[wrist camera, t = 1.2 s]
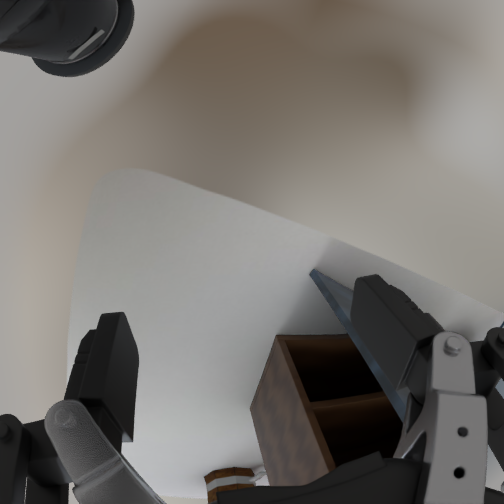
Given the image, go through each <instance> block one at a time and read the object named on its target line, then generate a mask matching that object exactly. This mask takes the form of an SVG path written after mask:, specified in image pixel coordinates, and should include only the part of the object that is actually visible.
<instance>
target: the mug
mask: <svg viewBox="0 0 504 504" xmlns="http://www.w3.org/2000/svg"><path fill="white" fill-rule="evenodd" d="M264 475H267V473H266V472H260V473H259V474H257V475H255V476H254V473H253V471H252V470H251V469H250V468H237V467H232V468H227V469H221V470H215V471H212V472H211V473H209V474H208V475H206V476H205V477H204V478H205V482H206V486H207V493H208V503H211V502H213V501H216V500H217V497H216V492H220V491H228V490H235V489H242V488H248V487H254V486H256V484H255V481H257V480H258V479H260V478H262V477H263V476H264Z"/></svg>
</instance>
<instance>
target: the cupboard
mask: <svg viewBox="0 0 504 504" xmlns="http://www.w3.org/2000/svg"><path fill="white" fill-rule="evenodd" d="M250 411H251V415H252V419H253V423H254V427H255V431H256V435H257V439H258V443H259V447H260V451H261V454H262V458H263V462H264V466H265V470H266V473H267V477H268V481H269V484H270V486H301V485H306V484H309V483H311V482H313V481H315V480H316V479H318V478H320V477H322V476H324V475H325V474H327V473H329V472H330V471H332V470H334V469H336V468H337V467H339V466H340V465H342V464H344V463H347V462H350V461H353V460H356V459H359V458H361V457H364V456H367V455H369V454H372V453H374V452H377V451H379V452H380V454H381V456H382V458H383V459H384V458H393V456H394V453H395V451H396V449H397V447H398V444H399V442H400V438H401V433H402V428H403V422H402V421H401V419H400V417H399V416H398V414H397V412H396V411H395V409H394V407H393V406H392V404H391V402H390V401H389V399H388V397H387V396H386V394H385V392H384V391H383V389H382V387H381V386H380V384H379V382H378V381H377V379H376V378H375V376H374V374H373V373H372V371H371V369H370V368H369V366H368V365H367V363H366V361H365V360H364V358H363V357H362V355H361V353H360V352H359V350H358V349H357V347H356V345H355V344H354V342H353V341H352V339H351V337H350V336H349V334H341V335H276V337H275V340H274V343H273V346H272V349H271V352H270V354H269V357H268V360H267V363H266V366H265V369H264V371H263V374H262V377H261V380H260V382H259V385H258V388H257V391H256V393H255V396H254V399H253V401H252V404H251V407H250Z"/></svg>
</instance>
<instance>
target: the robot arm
mask: <svg viewBox="0 0 504 504" xmlns="http://www.w3.org/2000/svg"><path fill="white" fill-rule="evenodd" d="M118 19H119V4H118V1H117V0H0V51H3V52H9V53H15V54H20V55H25V56H30V57H34V58H39V59H43V60H46V61H49V62H52V63H56V64H65V65H66V64H73V63H77V62H80V61H83V60H85V59H87V58H89V57H90V56H92V55H93V54H95V53H96V52H97V51H99V50H100V49H101V48H102V47H103V46H104V45H105V44H106V42H107V41H108V40H109V39H110V37H111V36H112V34H113V32H114V30H115V28H116V26H117V23H118ZM350 318H351V323H352V326H353V328H354V330H355V331H356V333H357V334H358V335H359V337H360V338H361V340H362V341H363V343H364V344H365V346H366V347H367V349H368V350H369V352H370V353H371V355H372V356H373V358H374V359H375V361H376V362H377V364H378V365H379V367H380V368H381V370H382V371H383V373H384V374H385V376H386V377H387V379H388V380H389V382H390V383H391V385H392V386H393V388H394V390H395V391H398V390H401V389H403V388H406V387H408V388H409V390H410V392H409V394H408V398H407V404H406V411H405V417H404V422H403V428H402V433H401V438H400V442H399V444H398V447H397V449H396V451H395V453H394V456H393V458H384V459H383V458H382V456H381V454H380V452H379V451H377V452H374V453H372V454H369V455H367V456H364V457H361V458H359V459H356V460H353V461H350V462H347V463H344V464H342V465H340V466H339V467H337V468H336V469H334V470H332V471H330V472H329V473H327V474H325V475H324V476H322V477H320V478H318V479H316V480H315V481H313V482H311V483H309V484H306V485H301V486H254V487H248V488H242V489H235V490H228V491H220V492H216V497H217V500H216V501H213V502H211V503H208V504H504V482H503V483H502V485H501V491H502V492H501V491H497V490H494V489H490V488H488V487H485V482H486V470H487V445H489V446H490V448H491V450H492V452H493V453H494V455H495V457H496V459H497V460H498V462H499V464H500V466H501V467H502V469H503V471H504V399H503V398H502V396H501V395H500V394H499V392H498V391H497V389H496V388H495V386H496V385H497V383H498V382H499V380H500V379H501V378H502V379H503V381H504V328H500V327H495V328H492V329H490V330H489V331H488V333H487V335H486V337H485V339H484V341H476V342H468V341H467V339H466V338H464V337H463V336H462V335H460V334H458V333H455V332H450V331H445V332H441V331H440V330H439V328H438V327H437V326H436V325H435V324H434V323H433V322H432V321H431V320H430V319H429V318H428V317H427V316H426V315H425V314H424V313H423V312H422V311H421V309H420V308H419V309H418V306H417V305H416V304H415V303H414V302H411V299H410V298H409V297H408V296H407V295H406V294H405V293H404V292H403V291H401V290H399V289H397V288H396V287H394V286H392V285H388V284H387V283H386V282H385V281H384V280H383V279H382V278H381V277H380V276H379V275H377V274H375V275H369V276H364V277H359V278H357V279H356V281H355V286H354V292H353V299H352V305H351V311H350ZM77 353H78V354H77V355H76V358H75V361H74V362H75V364H74V365H73V368H72V371H71V375H70V378H69V382H68V385H67V389H66V393H65V396H64V400H62V401H60V402H58V403H56V404H54V405H53V406H52V407H51V408H50V409H49V410H48V412H47V414H46V416H45V419H43V420H39V421H35V422H31V423H26V424H22V423H21V422H20V421H19V420H18V419H17V418H16V417H15V416H14V415H11V414H4V415H1V416H0V504H68V495H69V483H71V482H74V485H75V487H73V489H72V490H73V493H74V495H75V497H76V499H77V501H78V502H79V504H166V503H165V502H164V501H163V500H162V499H161V498H160V497H159V496H158V495H157V494H156V493H155V492H154V491H153V490H152V488H151V487H150V486H149V485H148V484H147V483H146V482H145V481H144V480H143V478H142V477H141V476H140V475H139V474H138V473H137V471H136V470H135V469H134V468H133V467H132V466H131V464H130V463H129V462H128V461H127V459H126V458H125V457H124V456H123V454H122V453H121V447H122V442H133V433H134V415H135V401H136V389H137V378H138V368H139V354H138V349H137V345H136V342H135V340H134V337H133V334H132V332H131V329H130V326H129V323H128V321H127V318H126V315H125V313H124V312H115V313H105V314H101V316H100V319H99V322H98V326H97V329H94V330H89V332H88V333H87V334H86V335H85V336H84V338H83V339H82V340H81V343H80V346H79V349H78V352H77ZM26 478H27V486H26ZM25 487H26V499H25ZM24 500H25V503H24Z"/></svg>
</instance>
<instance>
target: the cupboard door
mask: <svg viewBox="0 0 504 504" xmlns="http://www.w3.org/2000/svg"><path fill="white" fill-rule="evenodd" d="M310 276H311V277H312V279H313V280H314V282H315V283H316V285H317V286H318V288H319V289H320V291H321V293H322V294H323V296H324V297H325V299H326V300H327V302H328V303H329V305H330V306H331V308H332V309H333V311H334V312H335V314H336V316H337V317H338V319H339V320H340V322H341V323H342V325H343V326H344V328H345V330H346V331H347V333H348V334H349V336H350V337H351V339H352V341H353V342H354V344H355V345H356V347H357V349H358V350H359V352H360V353H361V355H362V357H363V358H364V360H365V361H366V363H367V365H368V366H369V368H370V369H371V371H372V373H373V374H374V376H375V378H376V379H377V381H378V382H379V384H380V386H381V387H382V389H383V391H384V392H385V394H386V396H387V397H388V399H389V401H390V402H391V404H392V406H393V407H394V409H395V411H396V412H397V414H398V416H399V417H400V419H401V421H402V422H404V417H405V411H406V404H407V398H408V394H409V392H410V390H409V388H408V387H406V388H403V389H401V390H398V391H395V390H394V388H393V386H392V385H391V383H390V382H389V380H388V379H387V377H386V376H385V374H384V373H383V371H382V370H381V368H380V367H379V365H378V364H377V362H376V361H375V359H374V358H373V356H372V355H371V353H370V352H369V350H368V349H367V347H366V346H365V344H364V343H363V341H362V340H361V338H360V337H359V335H358V334H357V333H356V331H355V330H354V328H353V326H352V323H351V318H350V311H351V305H352V299H353V292H354V291H352V290H350V289H349V288H347V287H345V286H343V285H341V284H340V283H338V282H336V281H334V280H333V279H331V278H329V277H327V276H325V275H324V274H322V273H320V272H318V271H316V270H315V269H314V270H313V271H312V272H311V273H310ZM424 314H425V315H426V316H427V317H428V318H429V319H430V320H431V321H432V322H433V323H434V324H435V325H436V326H437V327H438V328H439V330H440V331H441V332H445V330H444V329H443V327H442V326H441V325H440V324H439V323H438V322H437V321H436V320H435V319H434V318H433V317H432V316H431V314H430V313H424Z"/></svg>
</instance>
